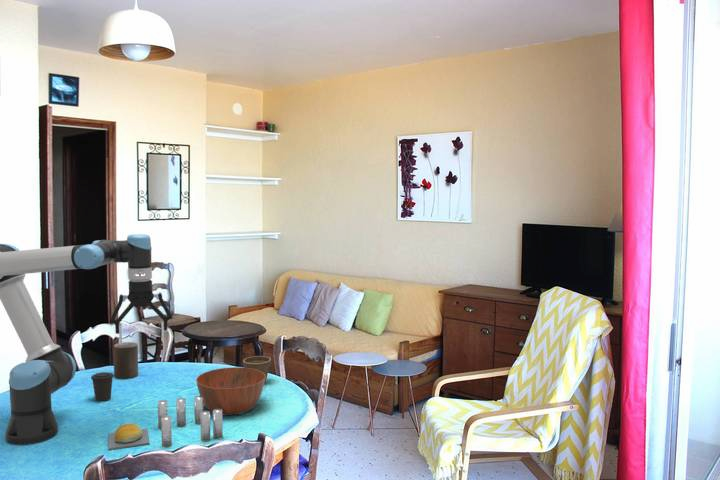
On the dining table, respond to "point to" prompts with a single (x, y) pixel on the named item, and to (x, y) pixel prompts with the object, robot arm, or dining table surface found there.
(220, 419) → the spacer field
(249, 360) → the flower pot
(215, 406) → the bowl
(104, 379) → the coffee cup
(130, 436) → the bread roll
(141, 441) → the slate coaster
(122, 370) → the pillar candle
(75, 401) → the dining table surface
